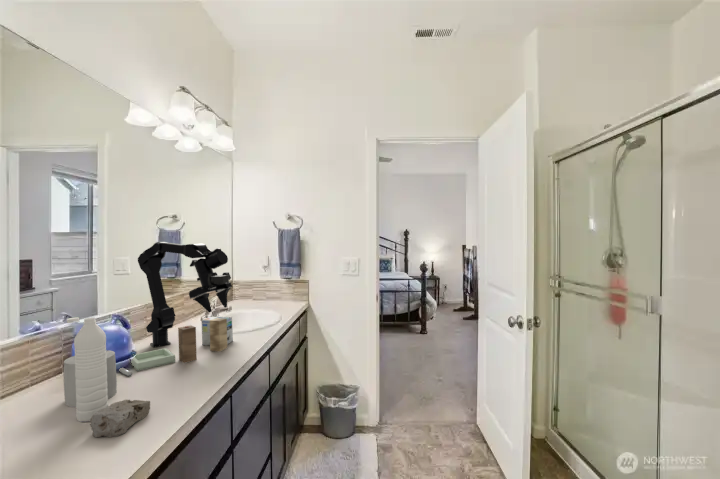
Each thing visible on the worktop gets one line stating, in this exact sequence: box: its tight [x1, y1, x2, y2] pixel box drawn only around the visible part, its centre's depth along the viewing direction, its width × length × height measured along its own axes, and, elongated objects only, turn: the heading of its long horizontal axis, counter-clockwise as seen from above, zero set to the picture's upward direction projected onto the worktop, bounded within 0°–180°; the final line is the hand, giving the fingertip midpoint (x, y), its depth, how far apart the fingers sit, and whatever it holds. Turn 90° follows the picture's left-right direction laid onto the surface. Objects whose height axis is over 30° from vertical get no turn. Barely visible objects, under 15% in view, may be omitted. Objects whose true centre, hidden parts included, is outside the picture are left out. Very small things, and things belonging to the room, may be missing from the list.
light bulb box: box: [201, 316, 234, 346], centre depth 153 cm, size 11×7×11 cm, turn 84°
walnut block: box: [177, 324, 198, 364], centre depth 133 cm, size 4×4×12 cm
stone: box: [89, 399, 151, 438], centre depth 87 cm, size 13×6×10 cm
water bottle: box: [66, 316, 109, 423], centre depth 92 cm, size 9×6×25 cm
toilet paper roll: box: [63, 349, 118, 408], centre depth 103 cm, size 12×12×12 cm
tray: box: [130, 347, 176, 372], centre depth 131 cm, size 12×12×2 cm
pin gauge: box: [118, 367, 133, 377], centre depth 120 cm, size 8×1×1 cm, turn 53°
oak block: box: [209, 318, 228, 352], centre depth 144 cm, size 4×4×12 cm
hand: (218, 309), depth 144 cm, fingers open, 9 cm apart
